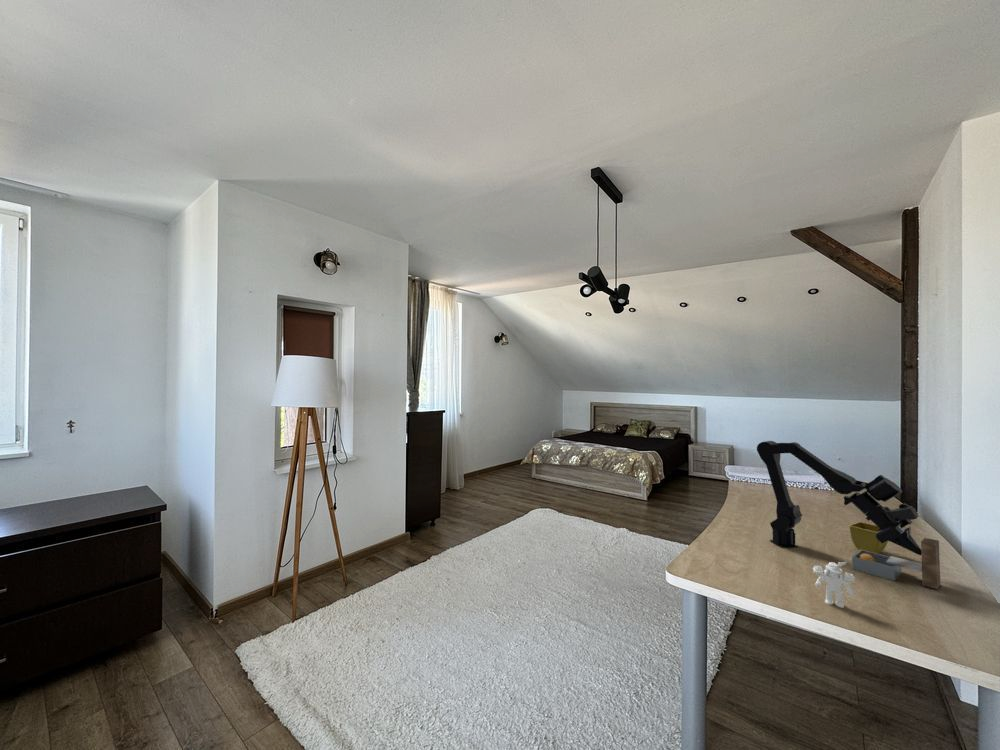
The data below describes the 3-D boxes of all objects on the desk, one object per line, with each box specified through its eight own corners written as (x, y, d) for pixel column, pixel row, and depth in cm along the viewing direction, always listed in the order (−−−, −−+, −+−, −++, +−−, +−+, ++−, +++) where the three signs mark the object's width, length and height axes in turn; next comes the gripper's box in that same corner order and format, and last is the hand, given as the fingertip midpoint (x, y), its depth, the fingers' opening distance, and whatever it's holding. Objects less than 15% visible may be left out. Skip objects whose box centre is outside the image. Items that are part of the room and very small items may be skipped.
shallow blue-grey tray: (852, 568, 131) (852, 556, 131) (860, 561, 136) (860, 549, 137) (894, 580, 122) (894, 567, 123) (901, 572, 128) (901, 559, 128)
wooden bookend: (886, 575, 125) (885, 534, 126) (891, 570, 129) (890, 530, 129) (937, 589, 116) (935, 545, 117) (940, 583, 120) (939, 540, 121)
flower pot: (880, 558, 139) (879, 532, 139) (849, 549, 146) (848, 525, 147) (890, 553, 143) (889, 528, 143) (860, 545, 150) (859, 521, 151)
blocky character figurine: (855, 606, 108) (854, 562, 108) (856, 612, 105) (854, 567, 105) (813, 595, 114) (812, 553, 114) (812, 600, 111) (811, 557, 111)
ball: (857, 557, 131) (869, 568, 129) (867, 550, 131) (880, 561, 128) (854, 558, 134) (866, 569, 132) (864, 551, 134) (876, 562, 131)
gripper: (888, 500, 121) (944, 549, 111) (902, 491, 132) (953, 534, 122) (856, 519, 127) (905, 567, 118) (871, 509, 138) (918, 552, 128)
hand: (922, 554), depth 121 cm, fingers closed, pressing on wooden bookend
